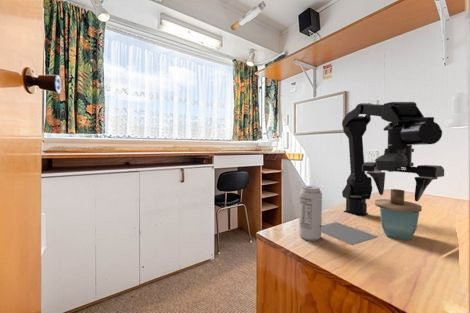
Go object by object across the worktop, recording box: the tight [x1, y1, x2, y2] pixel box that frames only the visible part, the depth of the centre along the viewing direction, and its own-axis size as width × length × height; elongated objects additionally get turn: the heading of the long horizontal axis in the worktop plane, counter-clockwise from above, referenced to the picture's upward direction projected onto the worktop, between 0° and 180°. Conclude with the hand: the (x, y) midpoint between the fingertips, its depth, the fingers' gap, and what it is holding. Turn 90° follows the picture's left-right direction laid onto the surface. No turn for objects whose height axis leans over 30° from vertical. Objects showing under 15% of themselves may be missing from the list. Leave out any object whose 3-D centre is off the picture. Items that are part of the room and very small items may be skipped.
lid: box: [374, 188, 423, 213], centre depth 64 cm, size 11×11×5 cm
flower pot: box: [379, 207, 420, 241], centre depth 64 cm, size 9×9×9 cm
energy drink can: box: [298, 185, 323, 242], centre depth 63 cm, size 6×6×15 cm
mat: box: [321, 221, 379, 246], centre depth 67 cm, size 14×12×1 cm
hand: (397, 197), depth 64 cm, fingers open, 9 cm apart
